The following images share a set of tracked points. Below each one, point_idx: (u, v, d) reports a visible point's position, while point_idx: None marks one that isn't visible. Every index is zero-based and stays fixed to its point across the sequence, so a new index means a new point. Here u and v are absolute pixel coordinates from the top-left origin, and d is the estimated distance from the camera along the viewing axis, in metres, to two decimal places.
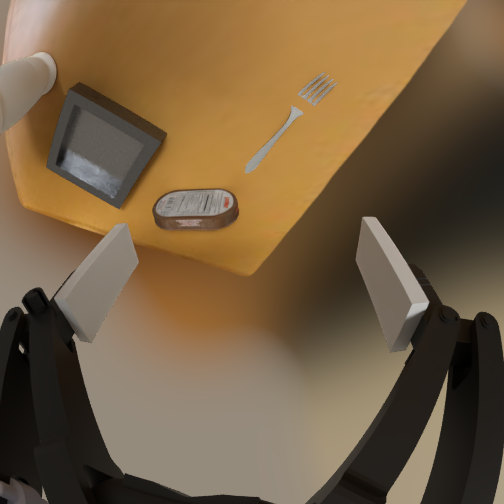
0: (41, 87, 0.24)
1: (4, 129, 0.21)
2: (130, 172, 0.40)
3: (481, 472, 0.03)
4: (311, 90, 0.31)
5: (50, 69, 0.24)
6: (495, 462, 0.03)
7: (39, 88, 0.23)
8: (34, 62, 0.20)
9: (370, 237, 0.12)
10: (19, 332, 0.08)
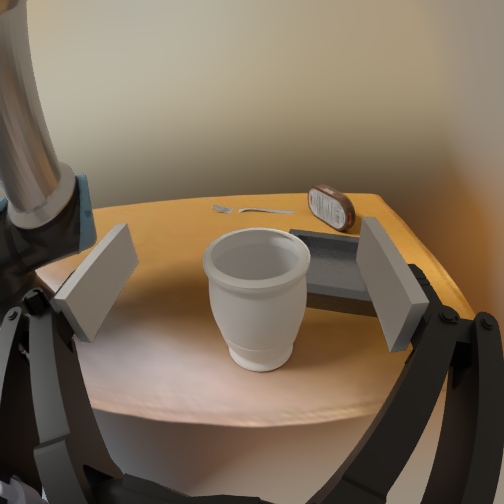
0: None
1: (286, 252, 0.30)
2: (330, 238, 0.51)
3: (481, 472, 0.03)
4: (225, 210, 0.71)
5: None
6: (495, 463, 0.03)
7: None
8: None
9: (370, 237, 0.12)
10: (19, 332, 0.08)
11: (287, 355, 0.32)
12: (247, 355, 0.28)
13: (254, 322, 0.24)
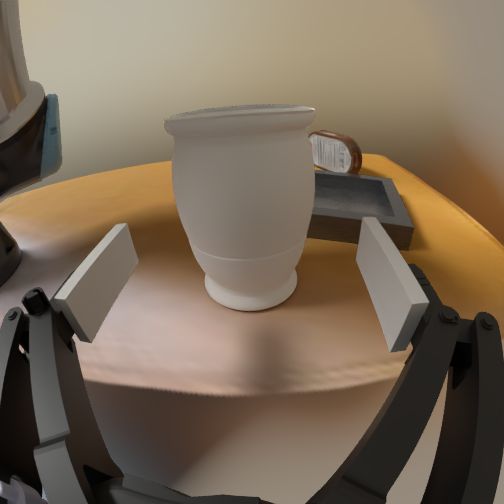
0: None
1: None
2: (336, 174, 0.41)
3: (481, 472, 0.03)
4: None
5: None
6: (495, 463, 0.03)
7: None
8: None
9: (370, 237, 0.12)
10: (19, 332, 0.08)
11: (289, 286, 0.22)
12: (227, 272, 0.19)
13: (233, 190, 0.15)
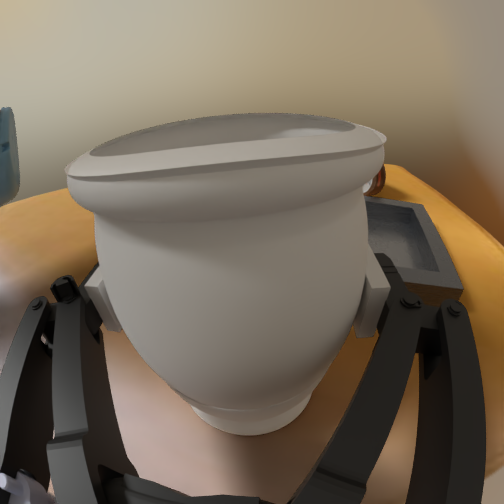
0: None
1: None
2: None
3: (464, 461, 0.03)
4: None
5: None
6: (479, 450, 0.03)
7: None
8: None
9: None
10: (42, 323, 0.08)
11: (302, 401, 0.14)
12: (208, 412, 0.10)
13: (202, 345, 0.06)
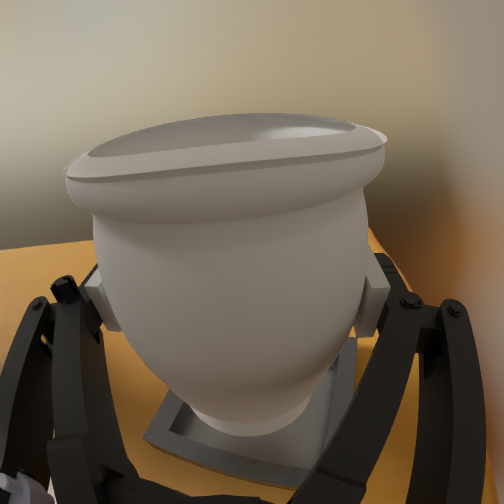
0: None
1: None
2: None
3: (464, 461, 0.03)
4: None
5: None
6: (479, 449, 0.03)
7: None
8: None
9: None
10: (42, 323, 0.08)
11: (302, 402, 0.14)
12: (207, 414, 0.10)
13: (201, 347, 0.06)
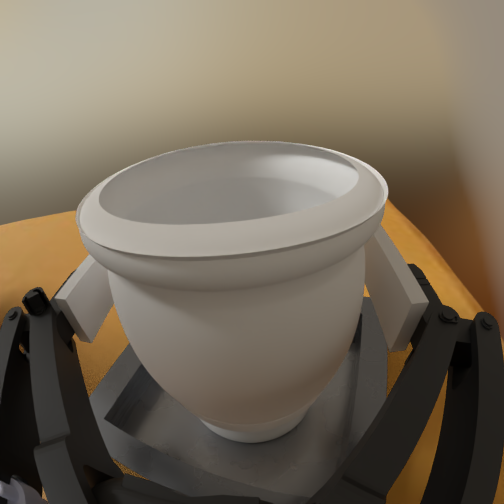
0: None
1: (305, 191, 0.13)
2: None
3: (481, 472, 0.03)
4: None
5: None
6: (495, 462, 0.03)
7: None
8: None
9: None
10: (19, 332, 0.08)
11: (302, 411, 0.14)
12: (215, 425, 0.11)
13: (215, 380, 0.07)
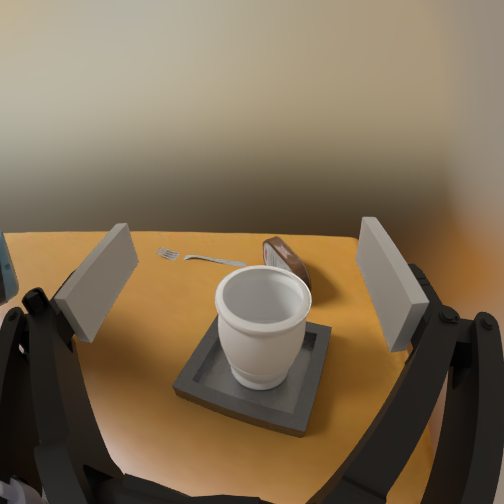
0: (262, 321, 0.38)
1: (290, 289, 0.33)
2: None
3: (481, 472, 0.03)
4: (170, 255, 0.61)
5: None
6: (495, 462, 0.03)
7: (262, 319, 0.38)
8: None
9: (370, 237, 0.12)
10: (19, 332, 0.08)
11: (282, 377, 0.35)
12: (248, 377, 0.31)
13: (257, 356, 0.27)
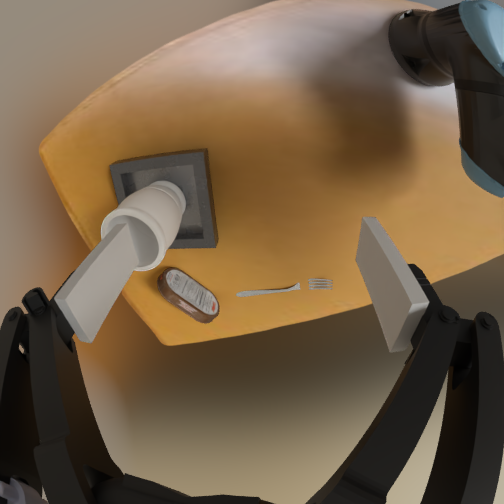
0: None
1: None
2: None
3: (481, 472, 0.03)
4: (316, 282, 0.57)
5: None
6: (495, 463, 0.03)
7: None
8: (181, 217, 0.45)
9: (370, 237, 0.12)
10: (19, 332, 0.08)
11: None
12: (151, 185, 0.42)
13: (128, 198, 0.37)
